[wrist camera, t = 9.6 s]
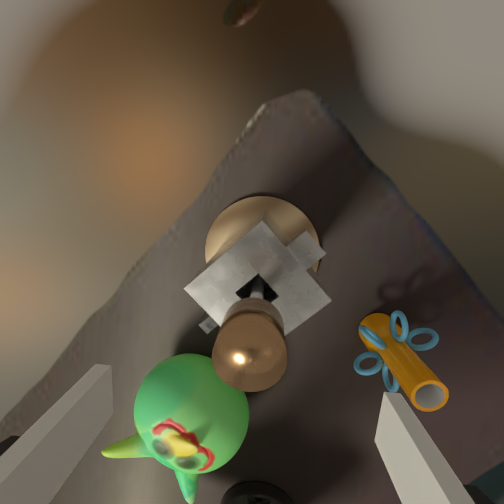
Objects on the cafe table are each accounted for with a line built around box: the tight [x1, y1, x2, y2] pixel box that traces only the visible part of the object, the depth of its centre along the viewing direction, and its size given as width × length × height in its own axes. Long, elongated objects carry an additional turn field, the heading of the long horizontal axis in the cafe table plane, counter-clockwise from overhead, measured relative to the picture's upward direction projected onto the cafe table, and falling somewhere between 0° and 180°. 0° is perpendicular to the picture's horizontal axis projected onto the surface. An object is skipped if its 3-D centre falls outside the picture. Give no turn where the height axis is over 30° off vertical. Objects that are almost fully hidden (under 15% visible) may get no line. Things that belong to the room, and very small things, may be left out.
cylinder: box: [354, 310, 449, 411], centre depth 37 cm, size 12×10×15 cm
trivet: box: [205, 196, 319, 273], centre depth 42 cm, size 18×18×1 cm
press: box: [184, 210, 332, 335], centre depth 33 cm, size 10×16×17 cm, turn 131°
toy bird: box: [102, 353, 249, 504], centre depth 41 cm, size 18×17×15 cm
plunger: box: [212, 273, 287, 392], centre depth 25 cm, size 7×7×20 cm
